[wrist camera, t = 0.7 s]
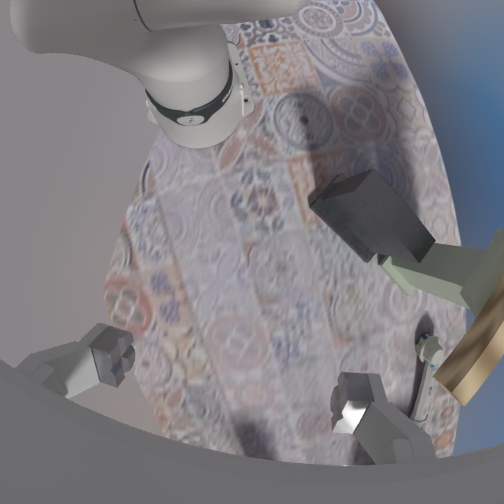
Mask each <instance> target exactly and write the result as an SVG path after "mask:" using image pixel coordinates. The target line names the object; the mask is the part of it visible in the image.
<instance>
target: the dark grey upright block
mask: <svg viewBox="0 0 504 504" xmlns="http://www.w3.org/2000/svg"><path fill="white" fill-rule="evenodd" d="M309 208H310V209H312V210H313V211H314V212H315V213H316V214H317V215H318V216H319V217H320V218H321V219H322V220H323V221H324V222H325V223H326V224H327V225H328V226H329V227H330V228H331V229H332V230H333V231H334V232H335V233H336V234H338V235H339V236H340V237H341V238H342V239H343V240H344V241H345V242H346V243H347V244H348V245H349V246H350V247H351V248H352V249H353V250H354V251H355V252H356V253H357V254H358V255H359V257H360V258H361V259H362V260H363V261H364V262H367V263H368V262H369V261H370V260H371V259H372V257H373V256H374V255H375V254H376V253H378V254H382V255H387V256H391V257H395V258H399V259H403V260H407V261H412V262H416V263H420V262H421V261H422V260H423V258H424V257H425V255H426V254H427V253H428V251H429V250H430V248H431V247H432V245H433V244H434V243H435V241H436V240H435V239H434V238H433V236H432V235H431V234H430V233H429V231H428V230H427V229H426V227H425V226H424V225H423V224H422V222H421V221H420V220H419V219H418V218H417V216H416V215H415V214H414V213H413V212H412V210H411V209H410V208H409V207H408V206H407V204H406V203H405V202H404V201H403V200H402V199H401V197H400V196H399V195H398V194H397V193H396V192H395V191H394V190H393V188H392V187H391V186H390V185H389V184H388V183H387V182H386V181H385V180H384V179H383V178H382V176H381V175H380V174H379V173H378V172H377V171H376V170H375V169H374V168H373V169H371V170H368V171H366V172H363V173H361V174H358V175H356V176H353V177H350V178H348V179H347V178H346V177H345V176H344V175H343V174H342V173H340V174H338V175H337V176H336V178H335V179H334V180H333V181H332V182H331V183H330V184H329V186H328V187H327V188H326V189H325V190H324V191H323V192H322V194H321V195H320V196H319V197H318V198H317V199H316V200H315V202H314V203H313V204H312V205H311V206H310V207H309Z"/></svg>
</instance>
